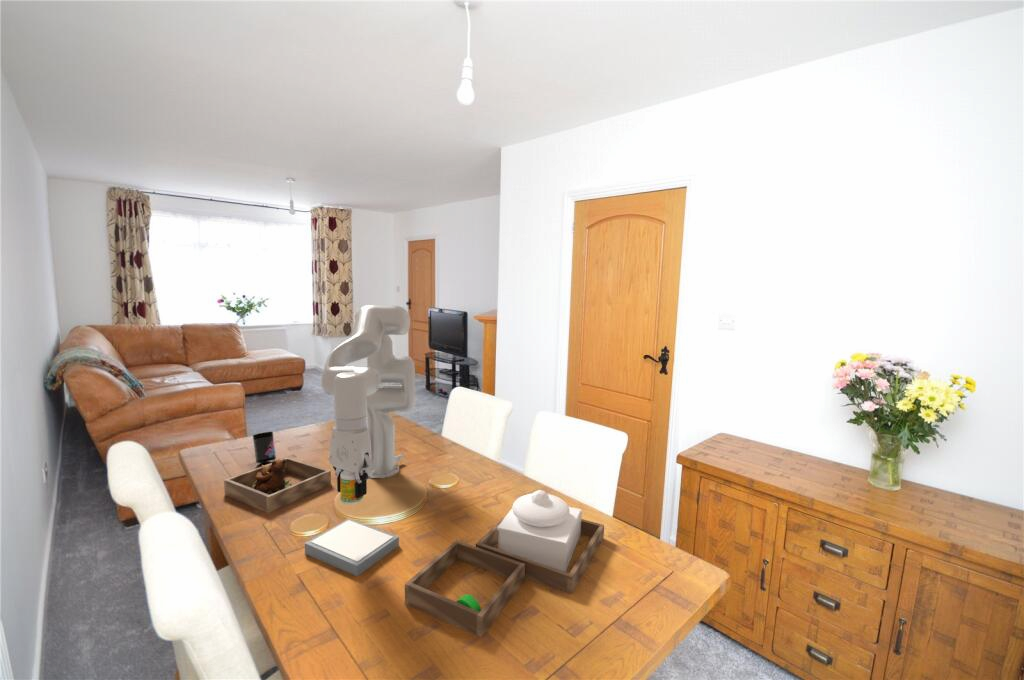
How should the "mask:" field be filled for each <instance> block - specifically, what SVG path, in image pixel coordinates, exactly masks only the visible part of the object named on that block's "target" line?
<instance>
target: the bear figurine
mask: <svg viewBox="0 0 1024 680" xmlns="http://www.w3.org/2000/svg"><path fill="white" fill-rule="evenodd" d="M282 459H283V460H281V459H275V460H274V461H270V463H272V464H271V466H269V465H267V464H266V465H267V466H265V465H264V464H261V467H262V473H261V472H258V473H257V475H256V477H255V478H256V482H254V483H252V484H251V486H250V488H253V489H255V490H258V491H261V492H263V493H266V494H269V495H271V494H273V493H275V492H278V491H280V490H282V489H285V488H287V487H290V486H292V485H294V483H293V482H290V481H291V479H288V480H287V479H285V477H284V474H286V473H285V470H283V468H284V466H285V462H286V459H284V458H282Z"/></svg>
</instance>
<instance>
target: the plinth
mask: <svg viewBox="0 0 1024 680" xmlns="http://www.w3.org/2000/svg"><path fill="white" fill-rule="evenodd" d="M398 547H400V536H398V535H396V534H393V533H391V532H388V531H384V530H382V529H379V528H376V527H373V526H371V525H368V524H366V523H364V522H360V521H357V520H355V519H353V518H350V517H349V518H347V519H345V520H343V521H341V522H340V523H338V524H336V525H334V526H332V527H331V528H329V529H327V530H325V531H324V532H322V533H320V534H318V535H317V536H315V537H312V538H311V539H309V540H307V541H306V542H304V554H305V555H307V556H310V557H312V558H314V559H317V560H318V561H321V562H323V563H325V564H327V565H330V566H332V567H334V568H337V569H340V570H342V571H344V572H346V573H348V574H351V575H353V576H355V577H359V576H360V575H362V574H363V573H364V572H366V571H367V570H368V569H369V568H371V567H372V566H374V565H375V564H376V563H378V562H379V561H381V560H382V559H383V558H384V557H386V556H387V555H388V554H390V553H391V552H392V551H394V550H396V549H397V548H398Z"/></svg>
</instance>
